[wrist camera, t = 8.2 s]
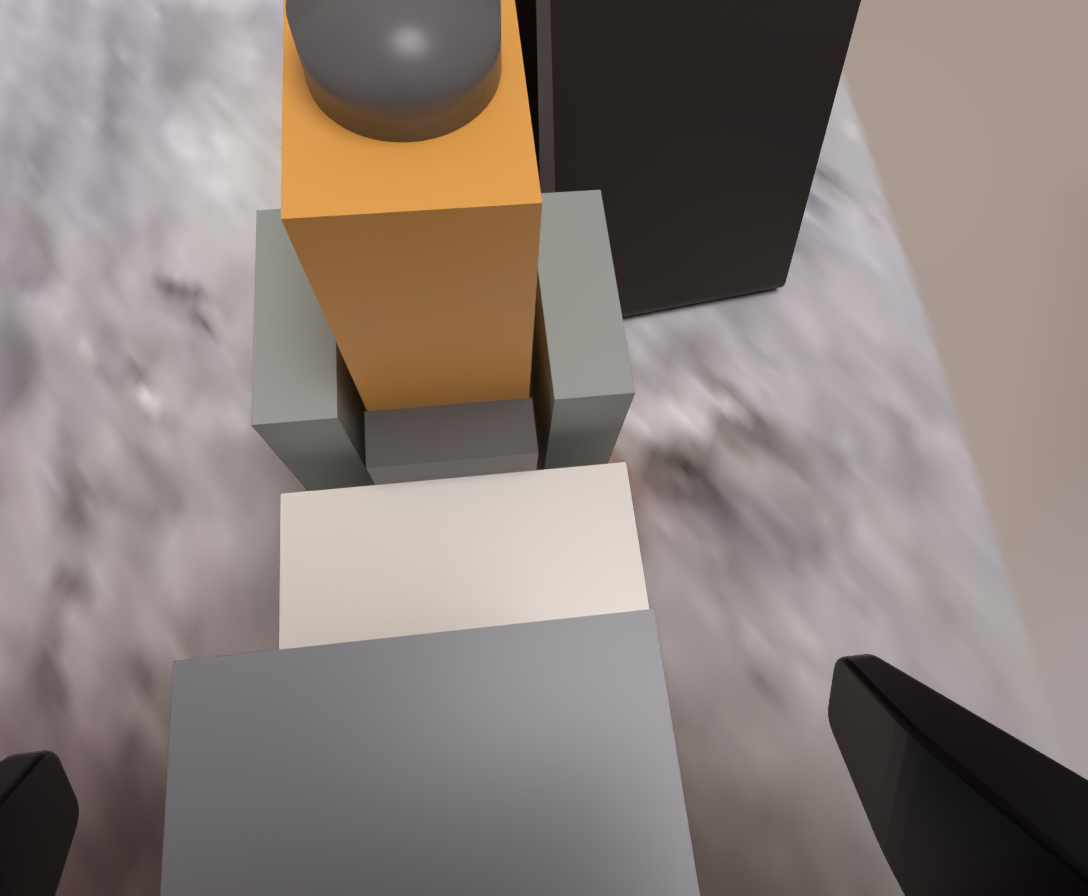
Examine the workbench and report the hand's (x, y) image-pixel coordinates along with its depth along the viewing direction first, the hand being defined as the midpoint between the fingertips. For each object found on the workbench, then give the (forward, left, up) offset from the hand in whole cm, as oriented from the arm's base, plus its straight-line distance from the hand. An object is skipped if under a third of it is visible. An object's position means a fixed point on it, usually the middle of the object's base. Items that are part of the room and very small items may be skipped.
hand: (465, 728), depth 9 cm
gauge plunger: (+7, 0, -5) cm, 9 cm away
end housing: (+7, 0, -5) cm, 9 cm away
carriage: (0, 0, -5) cm, 5 cm away
